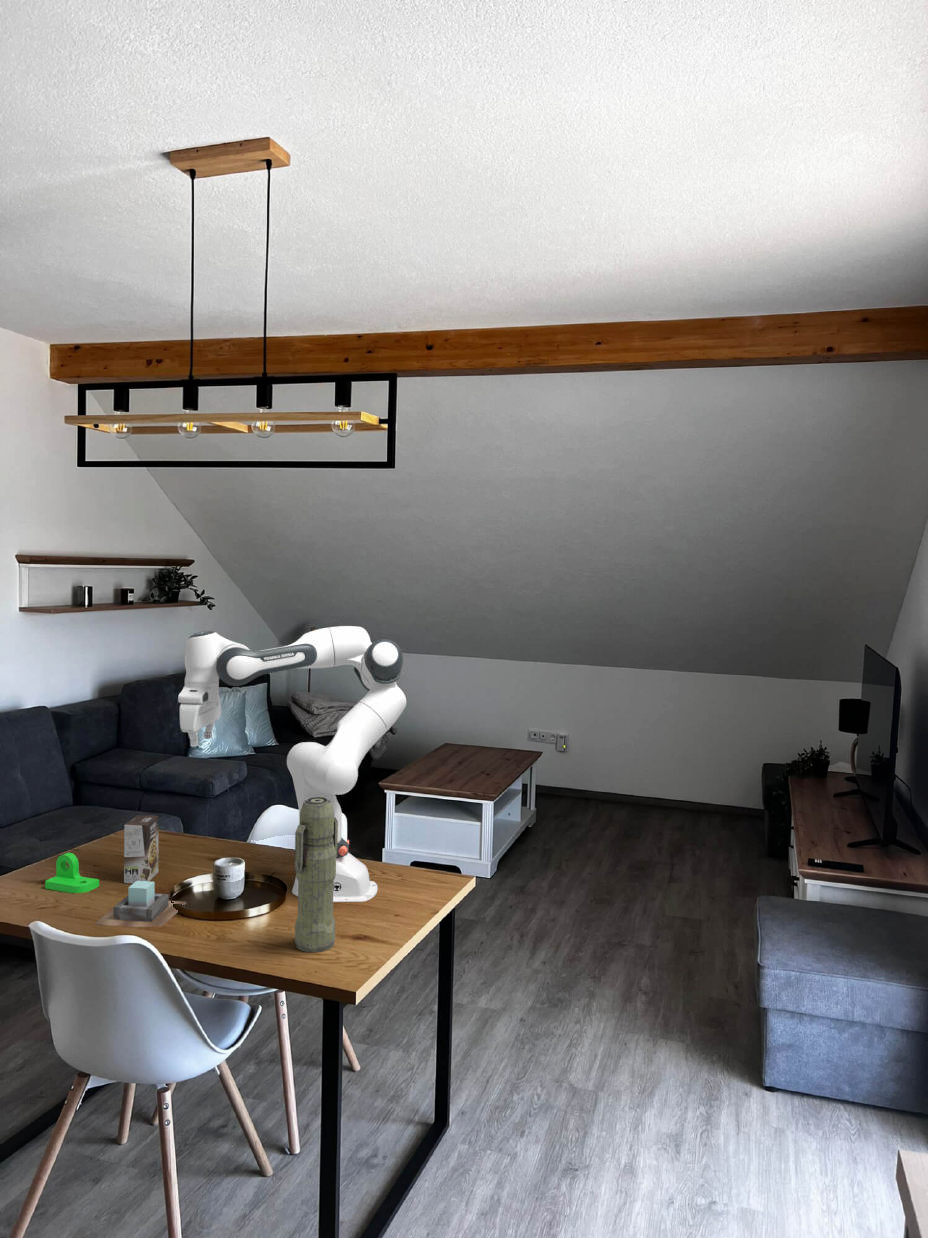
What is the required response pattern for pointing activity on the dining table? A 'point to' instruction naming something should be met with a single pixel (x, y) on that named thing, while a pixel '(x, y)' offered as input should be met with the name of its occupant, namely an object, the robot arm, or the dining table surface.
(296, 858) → the thermos
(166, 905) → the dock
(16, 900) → the dining table surface
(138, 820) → the coffee box
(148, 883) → the pale teal block
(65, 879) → the mechanical part
